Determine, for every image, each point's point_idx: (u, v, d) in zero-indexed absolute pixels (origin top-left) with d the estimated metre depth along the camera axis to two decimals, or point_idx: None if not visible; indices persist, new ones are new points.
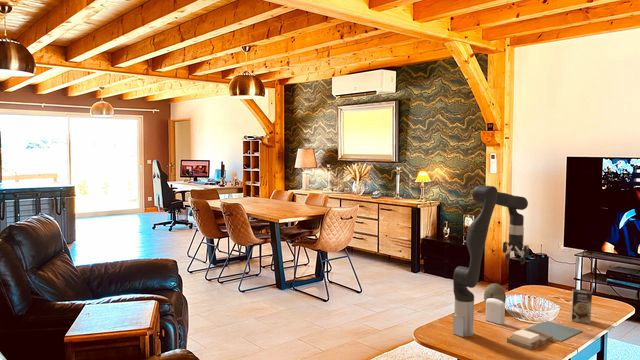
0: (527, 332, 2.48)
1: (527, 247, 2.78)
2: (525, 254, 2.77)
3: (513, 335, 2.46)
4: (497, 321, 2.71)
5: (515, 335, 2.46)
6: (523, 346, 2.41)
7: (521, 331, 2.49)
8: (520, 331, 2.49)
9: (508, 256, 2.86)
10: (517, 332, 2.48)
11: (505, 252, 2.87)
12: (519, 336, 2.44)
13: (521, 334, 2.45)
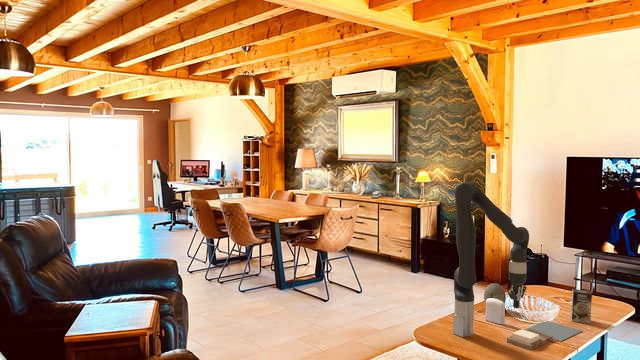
0: (527, 332, 2.48)
1: None
2: (522, 295, 2.40)
3: (513, 335, 2.46)
4: (497, 321, 2.71)
5: (515, 335, 2.46)
6: (523, 346, 2.41)
7: (521, 331, 2.49)
8: (520, 331, 2.49)
9: None
10: (517, 332, 2.48)
11: None
12: (519, 336, 2.44)
13: (521, 334, 2.45)
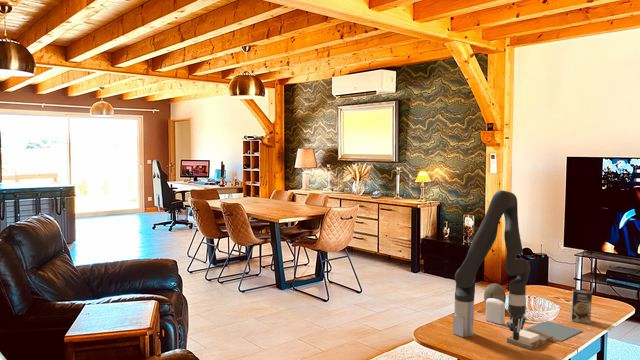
0: (527, 332, 2.48)
1: None
2: (522, 327, 2.41)
3: None
4: (497, 321, 2.71)
5: None
6: (523, 346, 2.41)
7: (521, 331, 2.49)
8: (520, 331, 2.49)
9: None
10: None
11: None
12: (519, 336, 2.44)
13: (521, 334, 2.45)
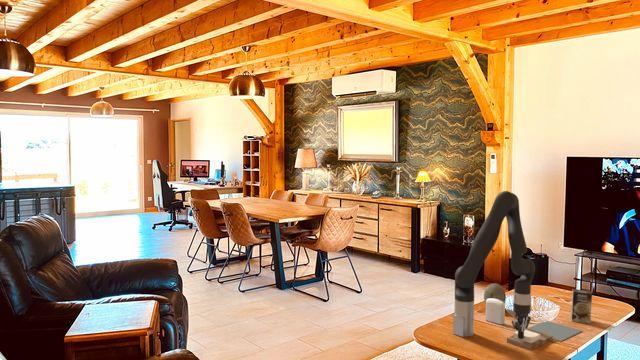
0: (528, 332, 2.48)
1: None
2: (527, 326, 2.43)
3: (514, 334, 2.47)
4: (497, 321, 2.71)
5: (516, 334, 2.46)
6: (523, 346, 2.41)
7: None
8: None
9: None
10: None
11: None
12: None
13: None
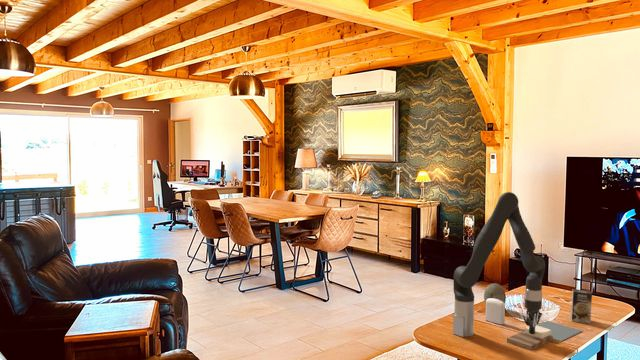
0: (539, 327, 2.54)
1: None
2: (538, 321, 2.49)
3: (525, 330, 2.53)
4: (497, 321, 2.71)
5: (527, 330, 2.52)
6: (523, 346, 2.41)
7: None
8: None
9: None
10: None
11: None
12: None
13: None
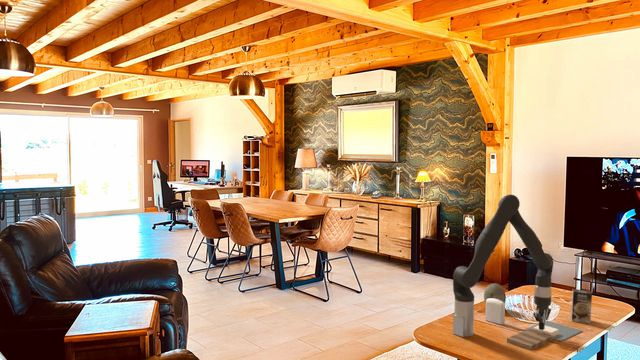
0: (547, 327, 2.59)
1: None
2: (547, 317, 2.55)
3: None
4: (497, 321, 2.71)
5: (535, 330, 2.57)
6: (523, 346, 2.41)
7: None
8: None
9: None
10: (537, 326, 2.60)
11: None
12: (539, 331, 2.56)
13: None
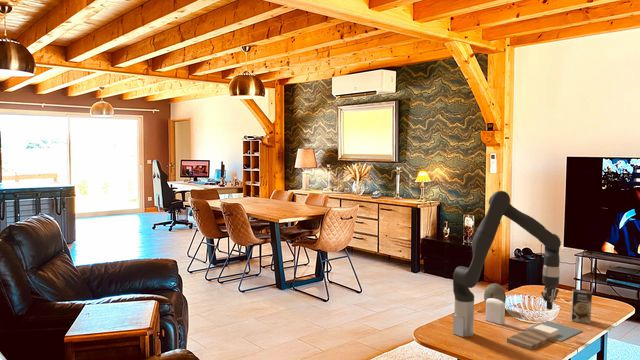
0: (547, 327, 2.59)
1: None
2: (555, 297, 2.58)
3: None
4: (497, 321, 2.71)
5: (535, 330, 2.57)
6: (523, 346, 2.41)
7: (541, 326, 2.60)
8: (540, 326, 2.60)
9: None
10: (537, 326, 2.60)
11: None
12: (539, 331, 2.56)
13: (541, 329, 2.56)
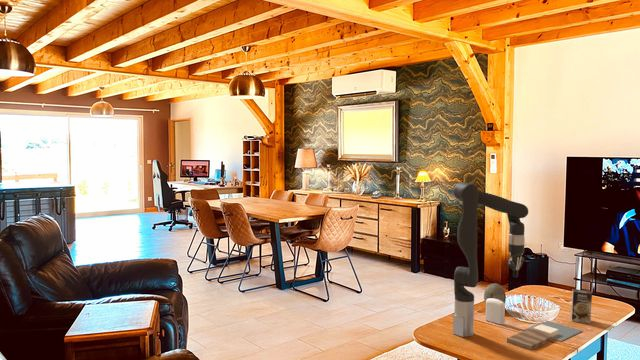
0: (547, 327, 2.59)
1: None
2: (521, 265, 2.63)
3: None
4: (497, 321, 2.71)
5: (535, 330, 2.57)
6: (523, 346, 2.41)
7: (541, 326, 2.60)
8: (540, 326, 2.60)
9: None
10: (537, 326, 2.60)
11: None
12: (539, 331, 2.56)
13: (541, 329, 2.56)
